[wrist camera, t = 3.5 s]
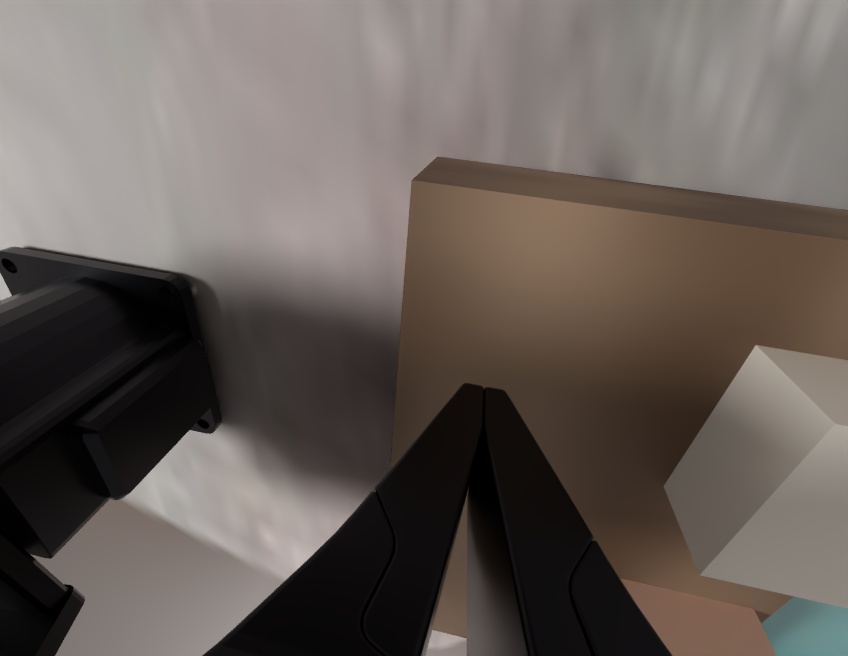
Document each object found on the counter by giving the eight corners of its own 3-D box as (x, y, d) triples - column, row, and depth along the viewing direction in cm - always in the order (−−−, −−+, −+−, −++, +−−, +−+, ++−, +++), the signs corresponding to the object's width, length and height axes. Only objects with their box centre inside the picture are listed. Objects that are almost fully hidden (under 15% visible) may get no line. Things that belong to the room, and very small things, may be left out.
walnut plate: (397, 540, 18) (378, 616, 15) (437, 156, 9) (411, 180, 7) (651, 600, 16) (678, 692, 14) (961, 225, 8) (1170, 284, 6)
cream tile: (663, 486, 9) (699, 575, 7) (755, 344, 7) (835, 423, 5) (850, 524, 9) (933, 627, 7) (1006, 386, 7) (1178, 485, 5)
